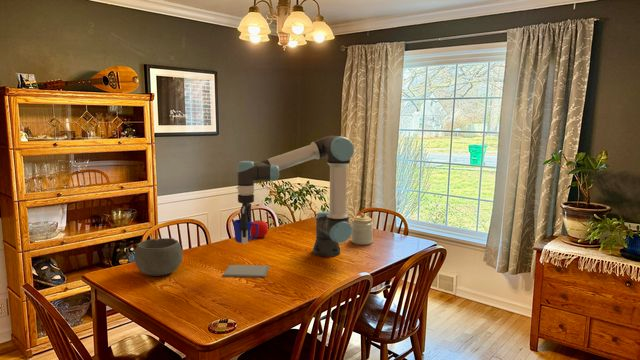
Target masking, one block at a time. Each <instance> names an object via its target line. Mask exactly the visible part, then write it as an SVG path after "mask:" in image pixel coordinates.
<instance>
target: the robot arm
mask: <svg viewBox="0 0 640 360" xmlns="http://www.w3.org/2000/svg"><path fill="white" fill-rule="evenodd" d="M354 154H355V148H354V144H353V142H352V140H351V139H350V138H347V137H345V136H342V135H340V136H339V135H338V136H337V135H328V136H325V137H322V138H320V139H317V140H314V141H312V142H311V143H310V144H308V145H305V146H303V147H300V148H297V149H294V150H290V151H288V152H285V153H282V154H279V155H275V156H272V157H270V158H269V157H268V158H267V159H263V160H261V161H260V160H259V161H258V160H257V161H252V160H242V161H241V160H240V161H238V162H237V170H236V172H237V186H236V189H237V203H239V204H242V205H241V208H240V211H239V212H240V219H241V228H240V230H242V243H241V244H243V245H246V244H247V245H248V243H249V241H248V230H247V222H248V220H251V223H252V222H253V221H252V220H253V219H252V203H254V202H255V195H254V193H255V182H259V181H260V182H261V181H263V182H265V181H268V182H269V181H270V182H272V181H277V180H278V179H279V178H280V171H282V170H285V169H288V168H291V167H294V166H297V165H300V164H302V163H305V162H308V161H312V160H315V159H316V160H320V159H324V158H325V159H326V164H327V165H328V166H329V210H328V211H326V210H325V211H319V212H317V213H316V217H315V221H316V222H315V225H316V226H315V236H316V237H315V241H314V244H313V248H312V254H313V255H315V256H317V257H318V256H319V257H324V258H325V257H336V256H339V255H340V254H341V247H340V244H339V243H345V242H347V241H348V240H349V239H351V237H352V225H351V223H350V220H349V219H350V216H349V214H348V213H347V186H348V185H347V183H348V182H347V181H348V180H347V179H348V178H347V176H348V166H349V165H350V164H351V158H352V157H353V155H354ZM243 227H244V228H243Z"/></svg>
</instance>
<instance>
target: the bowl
mask: <svg viewBox="0 0 640 360" xmlns="http://www.w3.org/2000/svg"><path fill="white" fill-rule="evenodd" d="M182 261H183V249H182V246H181V244H180V242H179V240H177V239H175V238H174V237H173V238H171V237H170V238H168V237H167V238H165V237H164V238H162V237H161V238H153V239H146V240H143V241H140V242H139V243H138V244H137V245H136V248H135V251H134V262H135V265H136V267H137V269H138V270H139V271H140V272H141V273H143V274H144V275H145V274H146V275H147V276H148V275H149V276H155V277H156V276H159V277H160V276H166V275H168V274H169V275H170V274H171V273H173V272H175V271H176V270H177V269H178V268H179V266H181V263H182Z"/></svg>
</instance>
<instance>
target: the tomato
mask: <svg viewBox="0 0 640 360" xmlns="http://www.w3.org/2000/svg"><path fill="white" fill-rule="evenodd" d="M252 223H256V224H258V225H259V226H258V234H257V237H256V238H258V239H260V238H262V237H265V236H266V235H267V234H268V232H269V227H268V224H267V222H265V221H264V220H261V219H260V220H259V219H258V220H253V221H252ZM256 229H257V225H251V237H252V238H254V237H255V235H256Z"/></svg>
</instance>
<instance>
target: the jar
mask: <svg viewBox="0 0 640 360" xmlns="http://www.w3.org/2000/svg"><path fill="white" fill-rule="evenodd" d="M351 224H352V225H351V227H352V234H351V236H350V239H351V243H353V244H355V245H361V246H362V245H365V246H366V245H370V244H372V243H373V240H374V237H373V234H374V233H373V232H374V227H373V225H374V222H373V218H371V217H370V216H367V215H366V214H365V213H364V212H361V213H360V215H357V216H355V217H353V218H352V221H351Z"/></svg>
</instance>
